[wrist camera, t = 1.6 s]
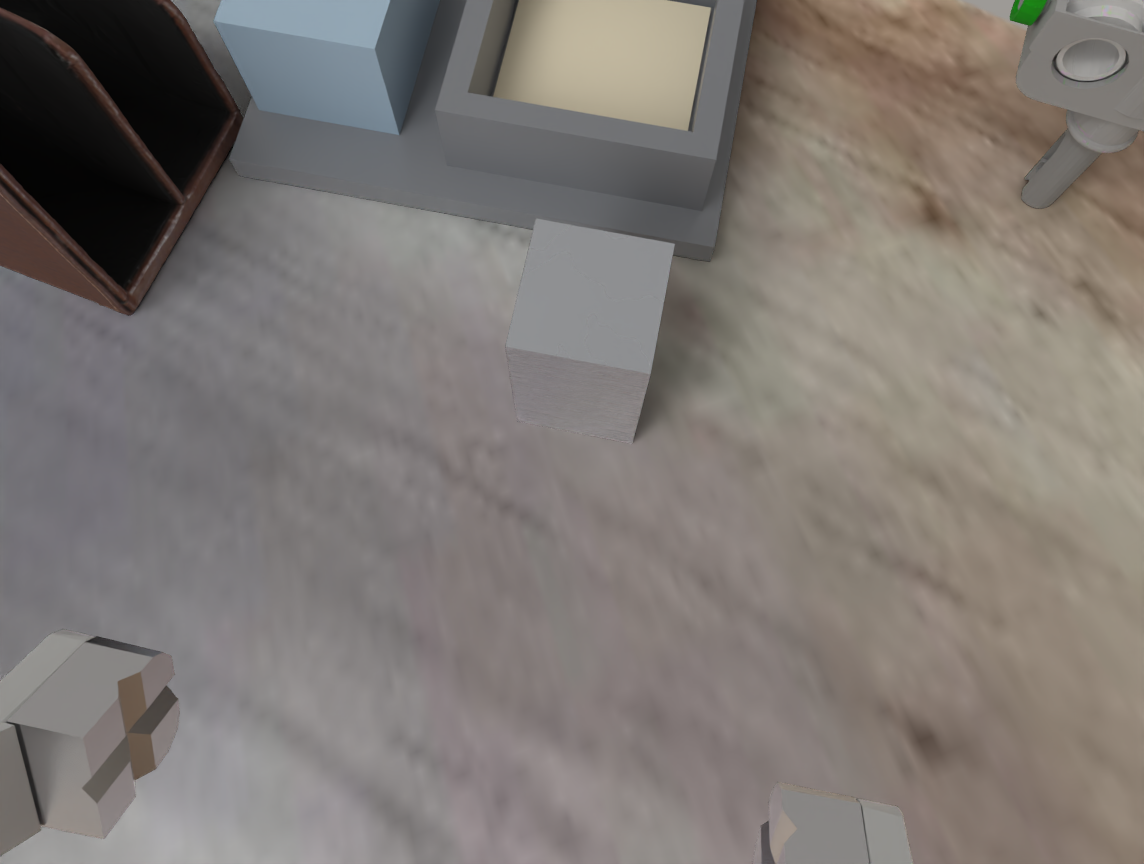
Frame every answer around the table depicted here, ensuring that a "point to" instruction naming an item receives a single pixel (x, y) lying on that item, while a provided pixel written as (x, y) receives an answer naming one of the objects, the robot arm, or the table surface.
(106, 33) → the letter holder
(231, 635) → the table surface
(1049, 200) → the mechanical component
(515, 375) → the grey square pillar block
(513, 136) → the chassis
